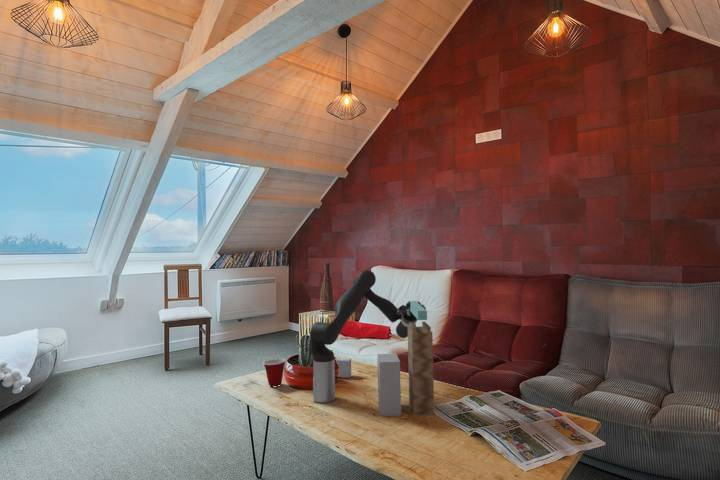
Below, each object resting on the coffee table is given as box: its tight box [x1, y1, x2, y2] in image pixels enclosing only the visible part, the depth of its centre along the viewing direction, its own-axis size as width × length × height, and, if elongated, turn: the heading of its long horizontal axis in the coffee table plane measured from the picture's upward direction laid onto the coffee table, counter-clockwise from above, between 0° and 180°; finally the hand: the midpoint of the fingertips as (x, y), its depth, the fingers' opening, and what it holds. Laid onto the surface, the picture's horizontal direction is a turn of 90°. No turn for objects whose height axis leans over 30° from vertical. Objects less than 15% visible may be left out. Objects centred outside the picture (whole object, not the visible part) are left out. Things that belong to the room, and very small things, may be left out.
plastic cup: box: [262, 358, 287, 386], centre depth 201 cm, size 11×11×12 cm
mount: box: [407, 321, 435, 416], centre depth 170 cm, size 8×12×34 cm, turn 2°
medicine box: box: [336, 358, 352, 379], centre depth 212 cm, size 8×4×9 cm, turn 84°
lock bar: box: [407, 300, 428, 321], centre depth 175 cm, size 4×26×4 cm, turn 2°
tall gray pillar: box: [376, 353, 402, 417], centre depth 169 cm, size 8×12×21 cm, turn 2°
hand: (414, 303), depth 182 cm, fingers closed on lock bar, 3 cm apart
